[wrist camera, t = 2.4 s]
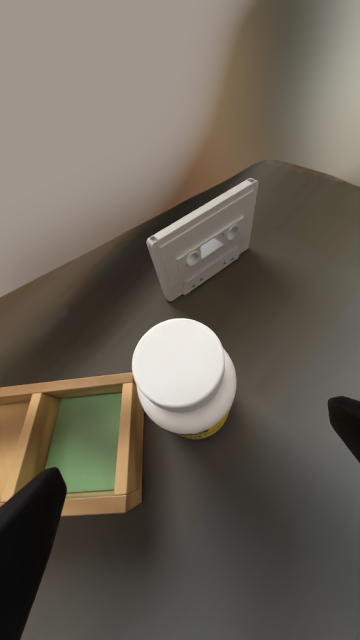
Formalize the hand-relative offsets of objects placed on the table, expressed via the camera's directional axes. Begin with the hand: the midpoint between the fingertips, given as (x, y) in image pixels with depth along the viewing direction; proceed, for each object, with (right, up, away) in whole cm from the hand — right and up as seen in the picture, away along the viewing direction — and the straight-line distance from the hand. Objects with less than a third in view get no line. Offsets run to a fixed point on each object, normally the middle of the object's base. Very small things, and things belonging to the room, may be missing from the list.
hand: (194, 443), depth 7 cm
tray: (-11, -6, +10) cm, 16 cm away
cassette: (+3, +9, +18) cm, 20 cm away
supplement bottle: (+1, -3, +10) cm, 11 cm away
